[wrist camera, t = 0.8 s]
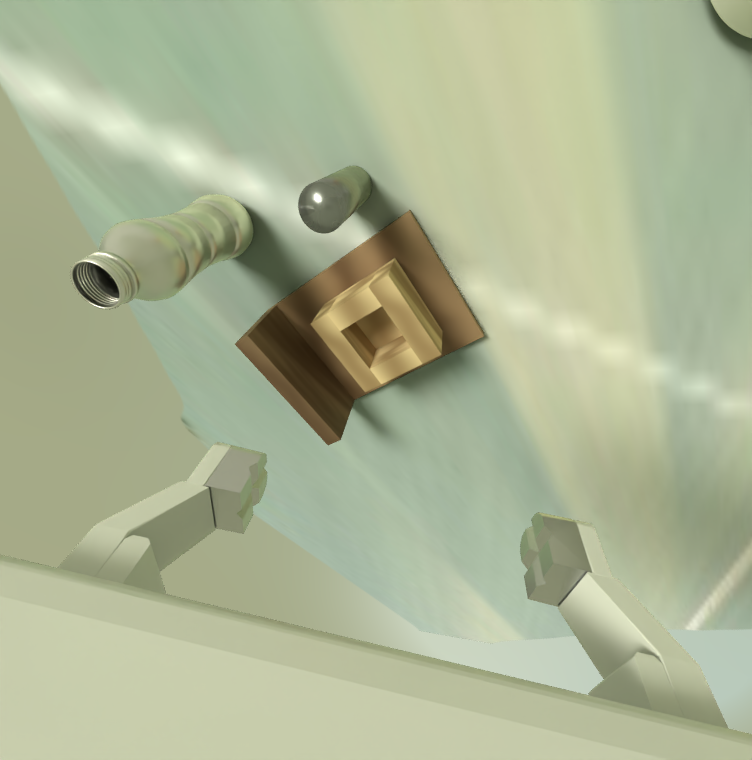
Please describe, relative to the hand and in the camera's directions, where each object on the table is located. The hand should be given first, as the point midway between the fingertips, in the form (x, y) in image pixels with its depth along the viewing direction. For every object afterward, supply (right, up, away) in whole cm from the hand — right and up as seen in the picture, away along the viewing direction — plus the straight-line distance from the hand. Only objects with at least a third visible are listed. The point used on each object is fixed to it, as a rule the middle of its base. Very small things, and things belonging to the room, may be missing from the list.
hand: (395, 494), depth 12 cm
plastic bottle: (-17, +21, +32) cm, 42 cm away
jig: (-1, +11, +35) cm, 37 cm away
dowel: (-3, +23, +28) cm, 36 cm away
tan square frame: (0, +11, +34) cm, 36 cm away
